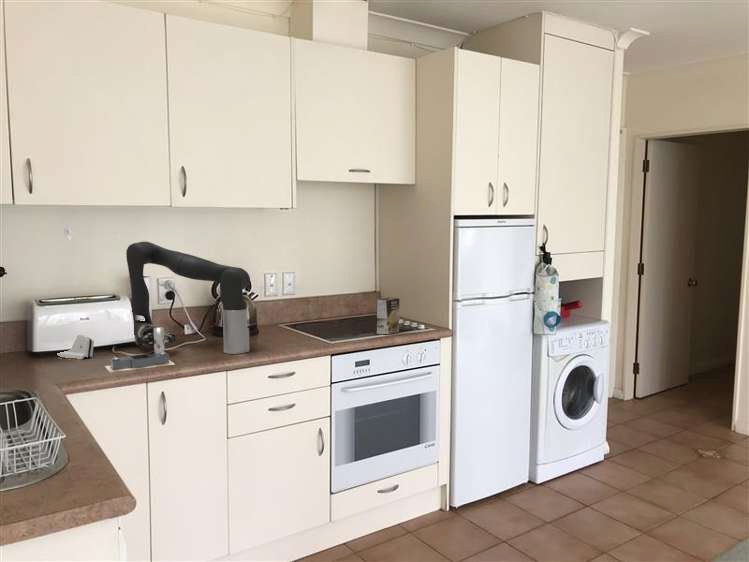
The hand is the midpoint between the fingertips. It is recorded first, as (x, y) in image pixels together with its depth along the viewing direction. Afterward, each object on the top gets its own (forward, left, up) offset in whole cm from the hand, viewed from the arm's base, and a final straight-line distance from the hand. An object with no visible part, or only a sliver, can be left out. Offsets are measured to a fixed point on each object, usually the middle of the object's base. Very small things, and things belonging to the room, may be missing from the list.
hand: (160, 341), depth 238 cm
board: (+9, +8, -7) cm, 14 cm away
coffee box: (-103, -2, -7) cm, 103 cm away
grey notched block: (+9, +8, -6) cm, 13 cm away
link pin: (0, -2, -7) cm, 7 cm away
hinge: (+27, -23, -7) cm, 36 cm away
